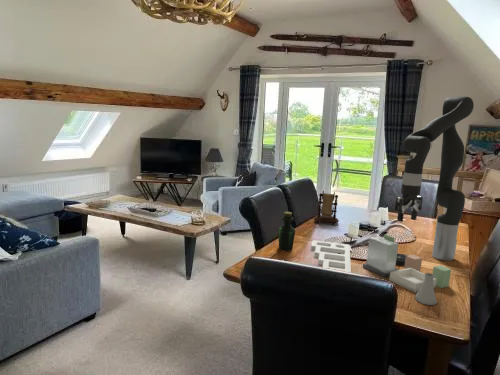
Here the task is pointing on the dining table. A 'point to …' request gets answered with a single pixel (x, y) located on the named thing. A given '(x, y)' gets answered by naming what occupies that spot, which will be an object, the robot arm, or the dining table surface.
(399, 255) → the disk drive
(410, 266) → the terracotta block
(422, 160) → the robot arm
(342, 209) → the dining table surface
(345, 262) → the holder
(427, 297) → the flask
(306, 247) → the dining table surface
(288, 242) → the potion bottle
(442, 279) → the sage block
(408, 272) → the tray
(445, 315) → the dining table surface
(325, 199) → the scroll
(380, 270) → the block
